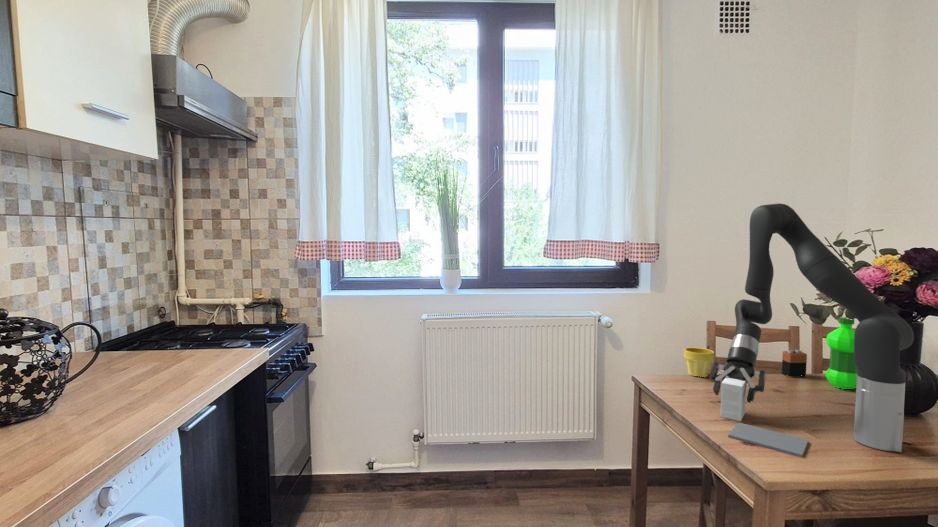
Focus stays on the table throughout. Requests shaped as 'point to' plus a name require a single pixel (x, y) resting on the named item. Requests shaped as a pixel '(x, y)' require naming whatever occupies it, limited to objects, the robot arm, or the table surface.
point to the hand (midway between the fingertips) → (732, 397)
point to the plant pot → (698, 361)
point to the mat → (769, 439)
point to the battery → (794, 363)
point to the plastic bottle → (842, 356)
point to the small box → (733, 398)
